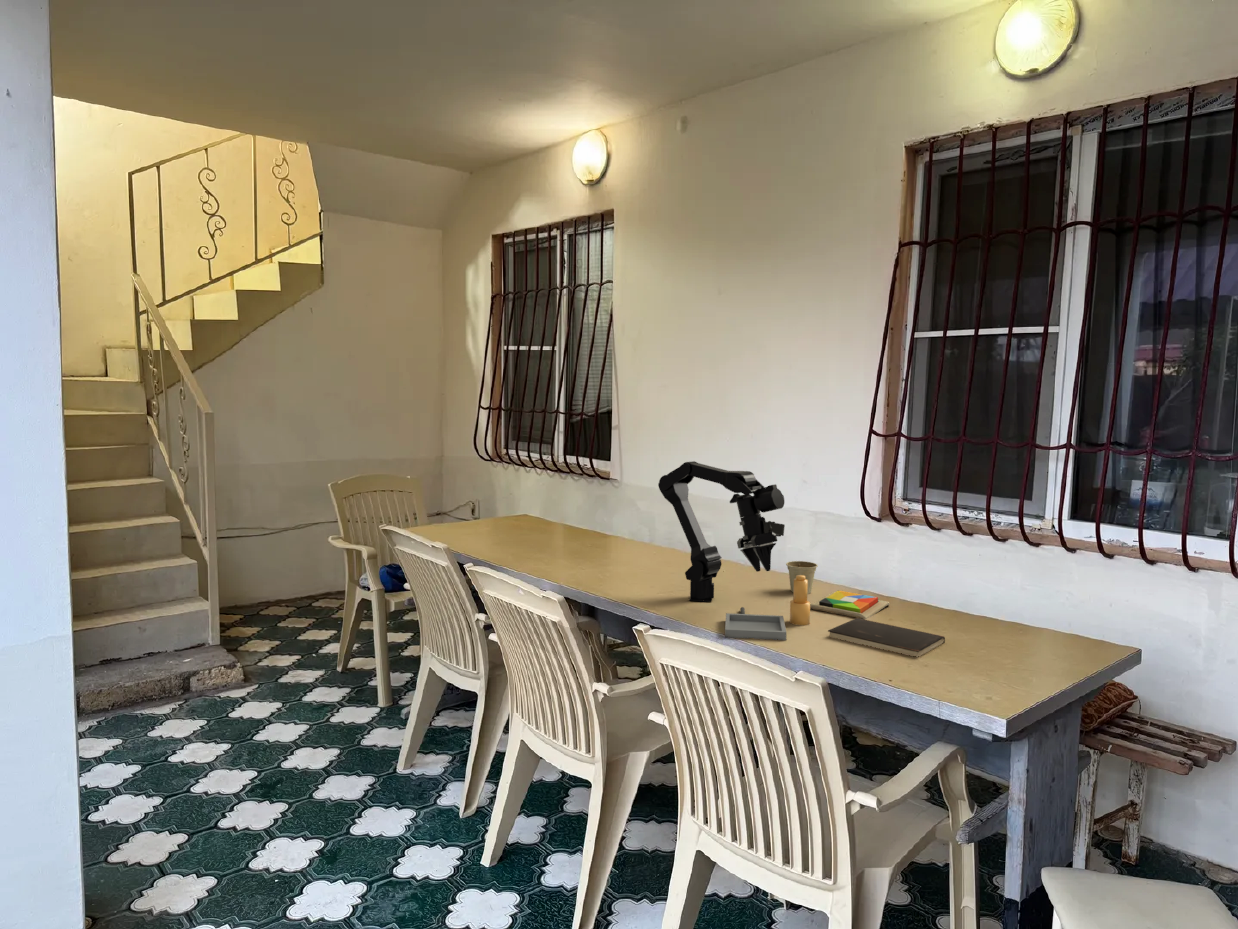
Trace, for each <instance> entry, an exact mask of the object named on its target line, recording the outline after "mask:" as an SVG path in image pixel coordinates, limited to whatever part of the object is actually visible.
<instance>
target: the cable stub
mask: <svg viewBox="0 0 1238 929" xmlns="http://www.w3.org/2000/svg"><path fill="white" fill-rule="evenodd" d="M739 612H740V613H739V614H746V610H745V607H743V606H741V607H740V611H739Z"/></svg>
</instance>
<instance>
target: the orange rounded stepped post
mask: <svg viewBox="0 0 1238 929" xmlns="http://www.w3.org/2000/svg"><path fill="white" fill-rule="evenodd" d="M807 588H808V580H807V579H805V576H803V575H797V576H796V579H794V592H792V593H793V598H792V600H790V602H789V623H790V624H792V625H796V626H807V625H810V622H811V609H810V604H811V602H810V601H809V600H808V594H807Z"/></svg>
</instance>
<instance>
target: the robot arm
mask: <svg viewBox="0 0 1238 929" xmlns="http://www.w3.org/2000/svg"><path fill="white" fill-rule="evenodd" d="M694 478H698V479H699V480H700V479H701V480H705V481H709V482H712V483H715V484H719V485H721V486H723V487H724V488H725V489H726V490H728V491H730V492H733V493H734V494H733V495H732V497H731V499H730V500H729V504H735V503H736V507H737V510H738V514H739V518H740V521H738V523H739V526H741V528H742V530H743V536H742V537H741V538H738V539H737V541H736V544H737V549H739V550H740V552H741V553H742V554H743V556H744V557H745V558H746V559H747V560H748V561H749V563H750V565H751V566H752V567H753V569H754V570H755V571H756V572H760V571H761V565H762V567H763V569H764V570H765V571H766V572H770V571H771V562H772V561H771V559H772V558H771V557H772V550H773V548H774V547H775V546H776V545H777V542H778V538H777V537H781V536H784V534H785V524H783V523H778V522H775V521H771V520H769V521H766V518H765V517H764V516H762V515H761V514H762V513H767V512H772V511H776V510H781V509H782V508H783V507H784V505H785V497H784V494H783V493H782V491H781V490H780V488H778V486H777V484H776V483H775V484H769V485H768V486H766V487H765V486H764V485H763V484H762V483H761V482H760V481H759V480H758V479H756V476H755V473H753V472H752V471H748V470H727V469H723V468H718V467H715V466H710V465H708V464H703V463H699V462H697V461H695V460H693V461H692V460H691V461H686V462H685V461H684V462H683V463H682V464H681V465H679V467H677V468H675V469H673V470H672V471H670V472H669V473H667V474H664V475H662V476H661V477H660V478H659V481H658V489H659V492H661V494H662V496H663V497H664V499H665V500H666V501H668V503H670V505H672V507H673V510H674V512H675V514H676V516H677V519H678V521H679V524H680V526H681V528H682V530H683V532H684V534H685V538H686V540H687V542H688V545H689V547H690V562H691V566H690V567H689V568H688V569H686V571H685V572H684V575H685V578H686V580H688V581H690V584H689V585H690V587H689V588H690V589H689V590H690V592H689V594H690V596H689V601H690V602H706V603H707V602H708V603H709V602H711V603H712V602H713V599H715V598H714V597H715V582H713V579H714V578H717V576H718V573H719V571H720V570H721V569H722V568H721V567H722V564H723V563H722V560H721V559H722V556H721V555H720V553H719V551H718V548H717V546H716V545H713V546H711V545H710V544H709V543H708V542H707V540H706V538H705V535H704V532H702V528H701V526H700V523H699V522H698V519H697V517H696V515H695V512H694V510H693V508H692V505H691V503H690V501H689V490H690V489H689V486H688V484H689V485H690V483H691V482H692V481H693V480H694Z"/></svg>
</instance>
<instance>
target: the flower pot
mask: <svg viewBox="0 0 1238 929" xmlns="http://www.w3.org/2000/svg"><path fill="white" fill-rule="evenodd" d="M785 565H786V566H787V567H786V568H787V570H788V575H789V577H788V578H789V585H790V592H792V593H793V592H794V579H796V576H797V575H803V576H805V579H807V580H808V588H807V595H808V594H809V595H810V594H812V591H813V585H814V584H813V583H814V580H815V574H816V572H817V571H816V570H817V568H818V566H819V565H818V564H817V563H815V562H811V561H804V560H792V561H788V562H786V563H785Z"/></svg>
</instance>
